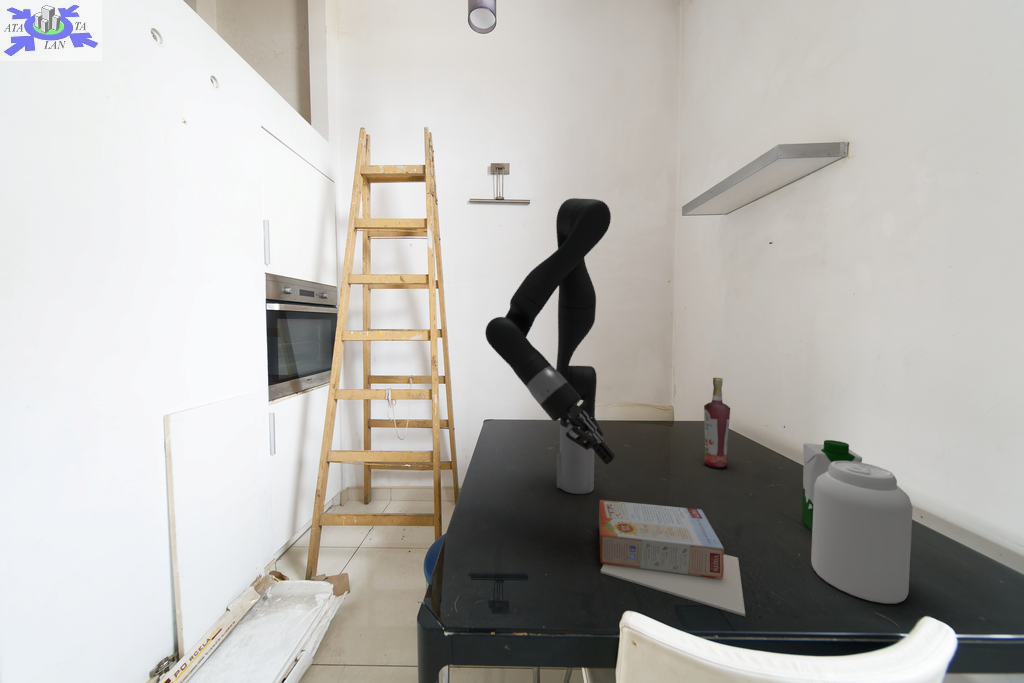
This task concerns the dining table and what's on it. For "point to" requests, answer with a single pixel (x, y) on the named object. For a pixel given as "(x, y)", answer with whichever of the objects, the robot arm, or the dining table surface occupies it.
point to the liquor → (716, 428)
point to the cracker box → (659, 539)
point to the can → (862, 532)
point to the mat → (690, 584)
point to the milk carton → (820, 470)
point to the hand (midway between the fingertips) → (611, 460)
